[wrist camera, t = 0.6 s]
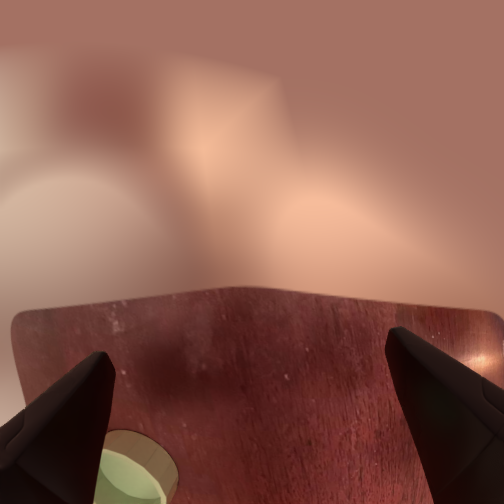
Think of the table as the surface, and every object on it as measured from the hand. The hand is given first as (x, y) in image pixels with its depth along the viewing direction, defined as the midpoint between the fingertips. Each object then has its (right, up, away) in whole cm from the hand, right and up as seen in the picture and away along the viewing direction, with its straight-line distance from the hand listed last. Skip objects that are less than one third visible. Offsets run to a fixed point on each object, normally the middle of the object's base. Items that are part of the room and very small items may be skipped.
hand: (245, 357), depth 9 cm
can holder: (-11, -17, +13) cm, 24 cm away
